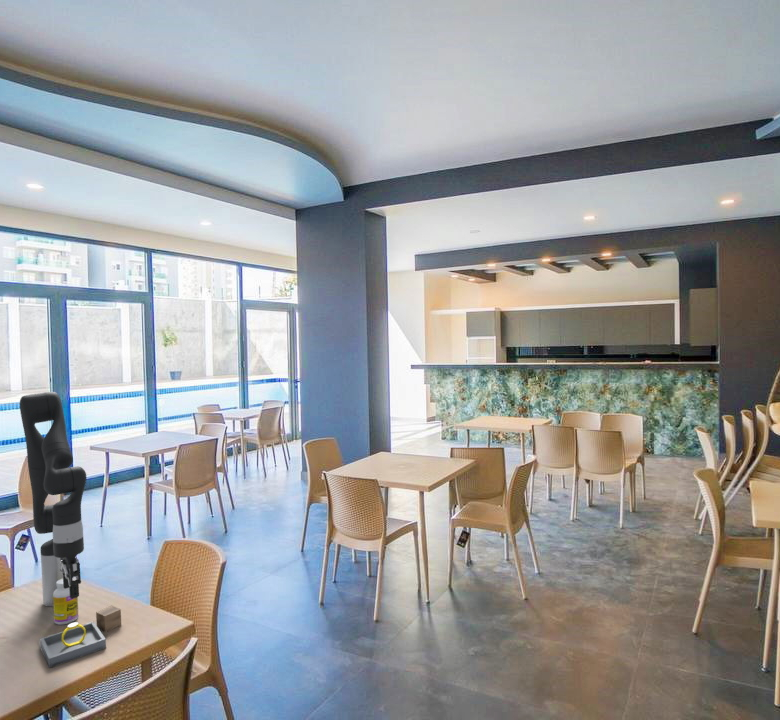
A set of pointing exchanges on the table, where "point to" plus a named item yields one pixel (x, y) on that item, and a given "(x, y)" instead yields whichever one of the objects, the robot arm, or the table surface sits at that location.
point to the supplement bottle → (64, 605)
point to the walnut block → (108, 618)
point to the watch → (72, 626)
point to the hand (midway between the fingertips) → (71, 592)
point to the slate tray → (60, 653)
